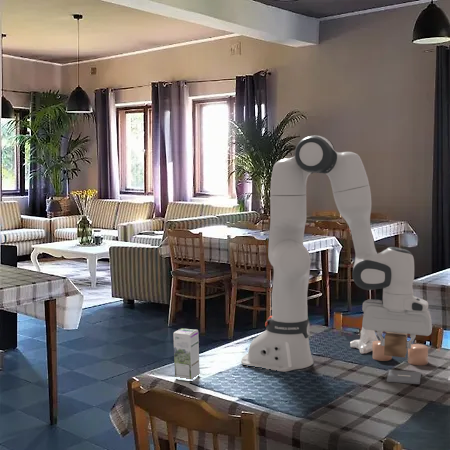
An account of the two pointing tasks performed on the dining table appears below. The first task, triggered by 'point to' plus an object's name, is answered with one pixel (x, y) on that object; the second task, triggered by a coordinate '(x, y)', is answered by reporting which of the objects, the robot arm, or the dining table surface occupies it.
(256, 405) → the dining table surface
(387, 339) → the walnut cube
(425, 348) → the peach rounded cylinder
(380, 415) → the dining table surface
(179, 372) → the syrup box
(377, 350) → the rounded tan cylinder
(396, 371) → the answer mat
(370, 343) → the seated beast figurine
